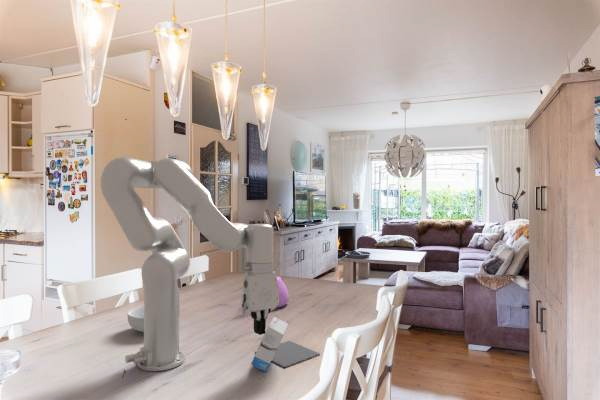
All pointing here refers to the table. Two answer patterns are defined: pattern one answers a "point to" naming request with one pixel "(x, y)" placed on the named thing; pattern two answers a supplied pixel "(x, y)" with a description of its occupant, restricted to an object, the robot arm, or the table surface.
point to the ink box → (269, 344)
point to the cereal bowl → (136, 318)
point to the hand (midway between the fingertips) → (259, 332)
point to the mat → (291, 354)
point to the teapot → (282, 293)
